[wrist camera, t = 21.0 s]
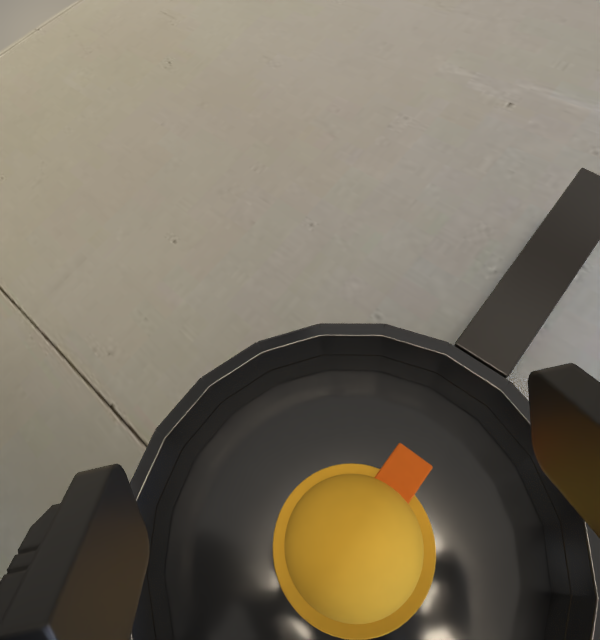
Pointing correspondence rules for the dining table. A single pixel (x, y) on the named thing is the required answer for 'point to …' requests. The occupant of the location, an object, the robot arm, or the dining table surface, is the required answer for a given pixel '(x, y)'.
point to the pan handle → (536, 278)
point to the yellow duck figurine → (357, 547)
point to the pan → (368, 449)
